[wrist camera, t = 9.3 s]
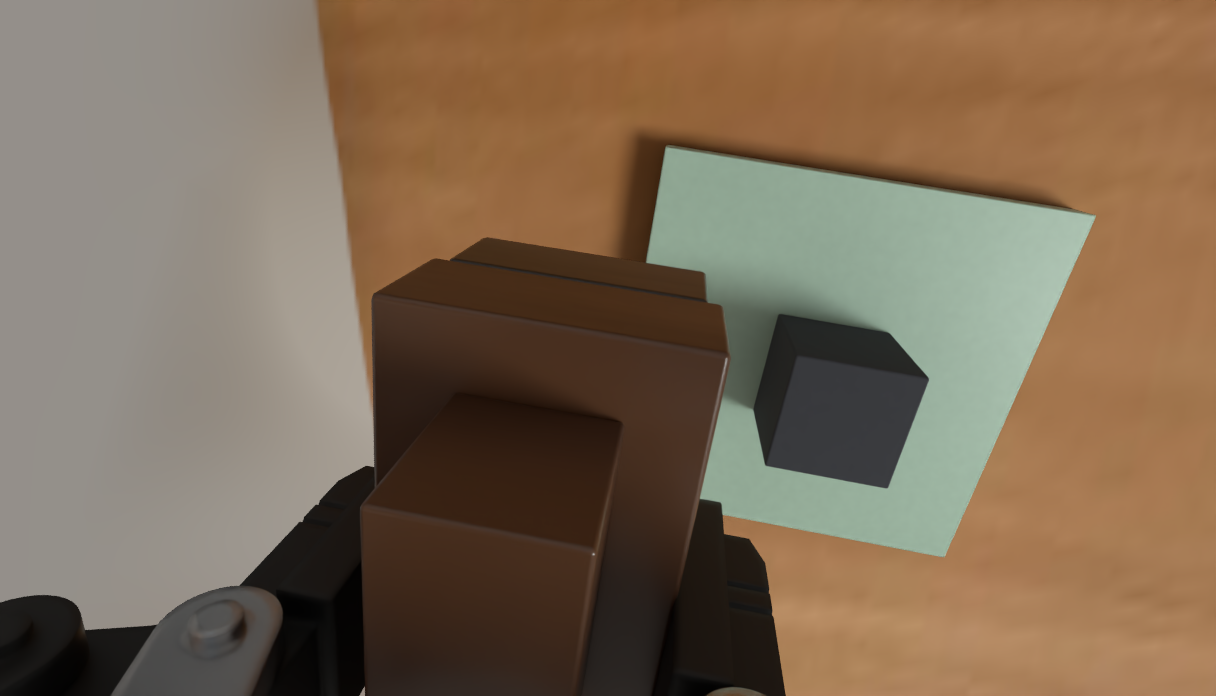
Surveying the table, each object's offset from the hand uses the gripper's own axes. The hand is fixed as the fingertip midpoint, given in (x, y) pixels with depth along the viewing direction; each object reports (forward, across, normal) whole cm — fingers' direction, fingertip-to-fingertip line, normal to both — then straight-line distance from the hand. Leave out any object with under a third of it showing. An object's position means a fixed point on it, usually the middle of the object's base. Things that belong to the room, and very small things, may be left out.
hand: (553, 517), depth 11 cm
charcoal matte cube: (+13, -7, +2) cm, 15 cm away
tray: (+14, -7, +2) cm, 16 cm away
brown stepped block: (+1, 0, 0) cm, 1 cm away
